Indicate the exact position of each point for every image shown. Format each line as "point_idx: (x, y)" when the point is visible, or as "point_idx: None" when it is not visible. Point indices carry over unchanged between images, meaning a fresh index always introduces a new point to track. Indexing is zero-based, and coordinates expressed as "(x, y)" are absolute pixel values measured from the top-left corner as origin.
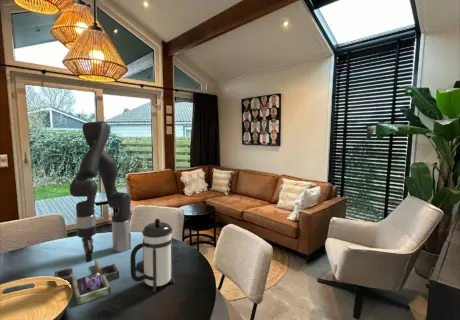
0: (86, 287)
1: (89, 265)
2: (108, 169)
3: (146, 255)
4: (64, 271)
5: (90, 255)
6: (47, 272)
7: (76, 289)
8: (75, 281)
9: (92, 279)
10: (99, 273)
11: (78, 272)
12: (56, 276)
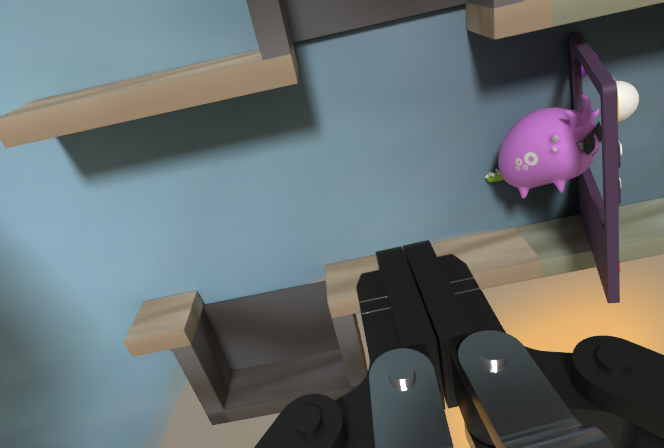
0: (595, 182)
1: (42, 176)
2: None
3: None
4: (209, 366)
5: (497, 322)
6: (120, 428)
7: None
8: None
9: (589, 149)
10: (612, 83)
11: (177, 254)
12: None
